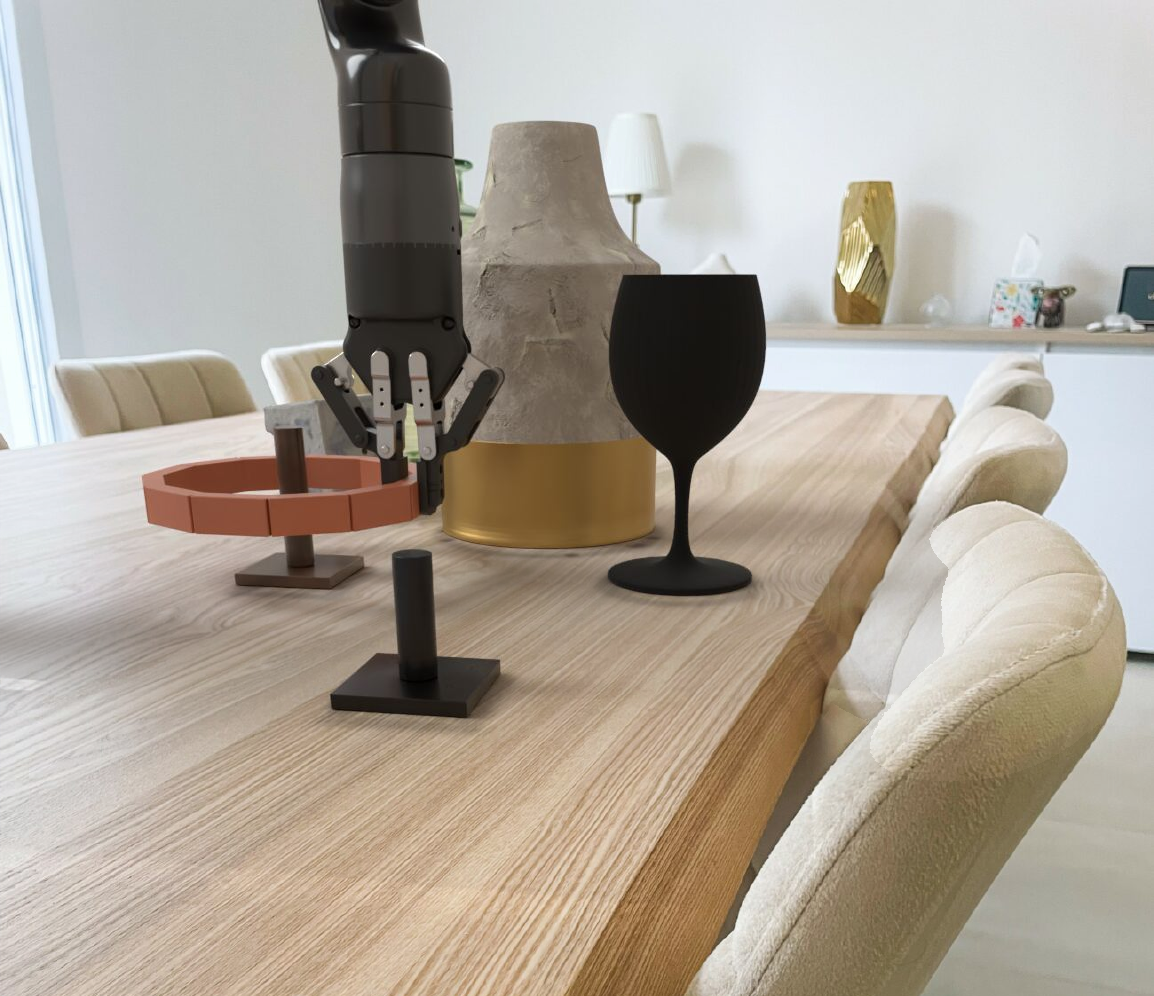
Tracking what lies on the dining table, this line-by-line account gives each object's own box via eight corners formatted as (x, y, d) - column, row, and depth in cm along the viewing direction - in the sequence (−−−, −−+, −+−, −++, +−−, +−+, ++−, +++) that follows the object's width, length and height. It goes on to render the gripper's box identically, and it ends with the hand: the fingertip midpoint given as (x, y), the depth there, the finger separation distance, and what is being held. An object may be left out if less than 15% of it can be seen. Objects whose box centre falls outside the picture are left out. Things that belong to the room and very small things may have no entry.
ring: (90, 529, 74) (84, 491, 73) (224, 482, 92) (221, 451, 91) (378, 542, 71) (376, 503, 70) (460, 491, 89) (459, 459, 88)
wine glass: (581, 570, 85) (581, 274, 77) (700, 555, 89) (712, 274, 81) (654, 602, 76) (662, 274, 68) (782, 584, 81) (803, 274, 73)
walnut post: (235, 584, 81) (217, 431, 77) (276, 562, 87) (261, 420, 83) (330, 589, 80) (316, 433, 76) (364, 566, 86) (354, 421, 82)
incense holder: (348, 500, 112) (339, 387, 108) (412, 508, 108) (405, 392, 104) (270, 515, 105) (258, 395, 100) (335, 525, 100) (325, 400, 96)
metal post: (330, 709, 57) (318, 566, 55) (377, 666, 64) (368, 536, 61) (467, 717, 56) (461, 572, 53) (500, 673, 63) (497, 541, 60)
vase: (407, 540, 95) (382, 116, 83) (488, 501, 111) (477, 143, 99) (623, 554, 90) (629, 106, 78) (675, 512, 106) (687, 135, 94)
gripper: (276, 236, 71) (300, 519, 78) (491, 237, 69) (497, 527, 76) (321, 240, 78) (340, 500, 85) (519, 241, 76) (522, 507, 83)
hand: (414, 512), depth 80 cm, fingers closed on ring, 1 cm apart
